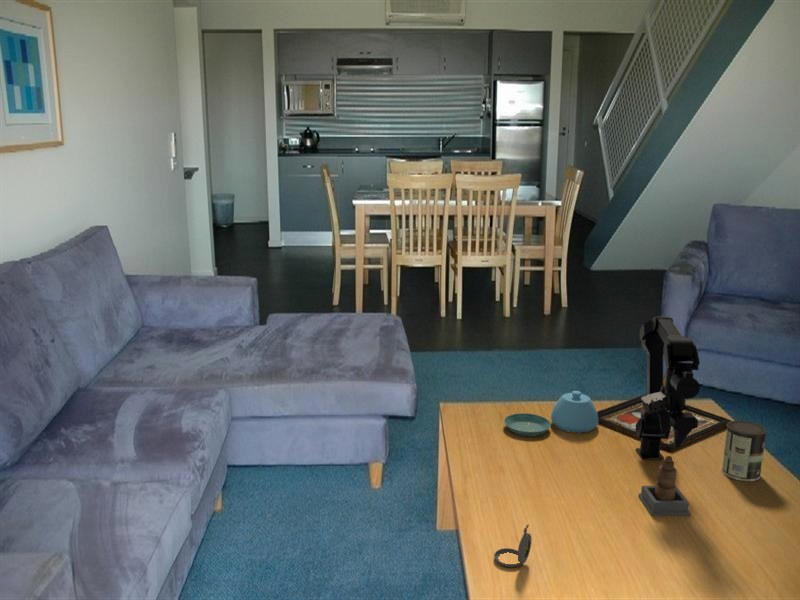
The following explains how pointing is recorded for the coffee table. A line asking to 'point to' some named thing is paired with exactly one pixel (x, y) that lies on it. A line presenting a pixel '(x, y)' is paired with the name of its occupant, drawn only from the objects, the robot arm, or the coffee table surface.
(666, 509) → the slate open box
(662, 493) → the pepper mill
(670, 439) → the framed icon painting
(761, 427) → the coffee can
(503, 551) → the pocket watch
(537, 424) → the saucer
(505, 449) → the coffee table surface
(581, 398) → the sugar bowl
